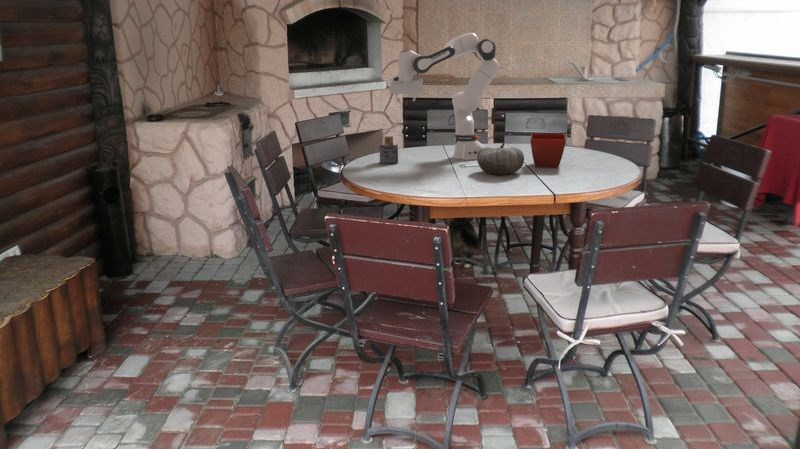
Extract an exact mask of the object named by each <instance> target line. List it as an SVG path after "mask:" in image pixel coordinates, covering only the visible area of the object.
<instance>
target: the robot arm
mask: <svg viewBox="0 0 800 449" xmlns="http://www.w3.org/2000/svg"><path fill="white" fill-rule="evenodd" d="M496 47H497V46H496V43H495V42H494V41H493V40H492V39H490V38H483V39H482V40H480V39H479V37H478V35H477V34H476V33H474V32H467V33H464V34H461V35H458V36H456V37H454V38H452V39H451V40H449V41H448V42H446V44H445V45H444V46H443V48H441V49H440V50H438V51H435V52H433V53H430V54H429V55H428V54H427V55H421V54H419V53H417V52H414V51H413V50H412V49H405V50H402V51H400V52H399V54H398V59H397V60H398V61H397V62H398V64H397V65H398V75H394V76H392V77H391V78H390V80H391V82H390V83H389V90H388V91H389V94H391V95H395V99H396V100H397V102H400V100H401V99H400V97H398V95H399V94H402V95H403V94H404V95H405V94H407V95H408V94H414V97H412V102H416V98H417V96H418V94H423V90H424V88H423V85H424V79H423V78H421V77H414V71H415V72H416V73H417V74H422V75H423V74H425V73H427V72H428V71H429V70H430V69H431V68H432V67H433V66H435V65H437V64H439V63H442V62H444V61H446V60H449V59H455V58H458V57H461V56H464V55H466V54H468V53H471V52H472V53H473V54H474V55H475V57H476V58H477V59H478V60H480V61H481V63H480V65H479V66H478V67H477V69H476V70H475V72H474V73H473V74H472V76H471V77H470V79H469V81H468V83H467V86H466V89H465V90H464V91H459V92H456V93H455V94H454V95H453V96H452V98H451V99H452V100H451V103H452V106H453V112H454V120H455V121H454V122H455V134H454V151H453V156H452V158H453V159H456V160H457V159H458V160H462V161H463V160H464V161H469V160H470V161H471V160H477V155H478V151H479V150H480V149H481V148H484V147H486V146H485V145H484V144H482V143H481V142H480V141H478V139H479V136H478V135H477V134H475V120H474V117H473V113H472V112H474V111H476V110H477V109H478V107H479V103H480V101H481V99H482V97H483V94H484V93H485V91H486V90H487V89H488V87H489V85H490V84H491V82H492V81H493V79H494V78H495V77H496V74H498V71H499V69H500V64H499V61H497V59H496V58H495V57H496V50H497V48H496Z"/></svg>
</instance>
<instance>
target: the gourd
mask: <svg viewBox="0 0 800 449" xmlns="http://www.w3.org/2000/svg"><path fill="white" fill-rule="evenodd" d="M505 144H506V143H505V142H502V144H501V145H500V146H499V147H490V146H485V147H484V148H481V149H480V150H479V151H478V155H477V159H476V161H477V164H478V166H479V168H480V169H481V171H483V172H484V173H489V174H495V175H496V176H505V175H509V174H513V173H516V172H518V171H519V170H520V169H521V168H522V167H523V166H524V164H525V155H524V153H523V151H522V149H520V148H518V147H516V146H515V147H514V146H513V147H504V146H505Z"/></svg>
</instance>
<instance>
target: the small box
mask: <svg viewBox="0 0 800 449" xmlns="http://www.w3.org/2000/svg"><path fill="white" fill-rule="evenodd" d="M378 148H379V165H387V164H388V165H393V164H394V165H397V164H398V163H399V144H393V146H385V144H381V145H379V147H378Z"/></svg>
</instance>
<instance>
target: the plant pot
mask: <svg viewBox="0 0 800 449" xmlns="http://www.w3.org/2000/svg"><path fill="white" fill-rule="evenodd" d="M566 140H567V139H566V134H565V133H533V132H532V133H531V134H530V145H531V146H530V148H531V153H532V154H531V155H532V160H533V164H534V167H535V168H551V169H553V168H556V169H557V168H559V167H560V165H561V161H562V159H563V155H564V150H565V146H566Z"/></svg>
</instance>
